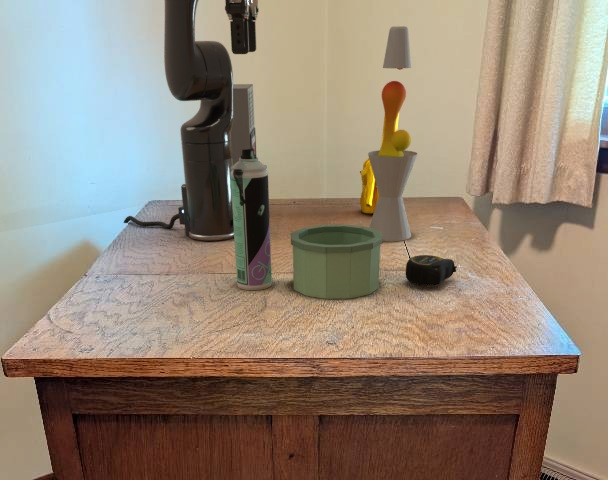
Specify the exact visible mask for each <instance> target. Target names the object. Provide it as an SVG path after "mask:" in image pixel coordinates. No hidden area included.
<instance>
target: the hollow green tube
mask: <svg viewBox="0 0 608 480" xmlns="http://www.w3.org/2000/svg"><path fill="white" fill-rule="evenodd" d="M383 242H384V241H383V237H382V235H381V232H380V231H377V230H374V229H371V228H369V226H362V225H355V224H354V225H353V224H320V225H313V226H307V227H302V228H298V229H296V230H294V231H292V232H290V245H291V246H292V268H293V269H292V270H293V271H292V273H293V290H294V291H296V292H297V293H300V294H302V295H303V296H306V297H311V298H318V299H322V300H323V299H324V300H341V299H343V300H344V299H345V300H346V299H355V298H358V297H363V296H368V295H371V294H372V293H374V292H375V291H377V290H378V289H379V287H380V267H381V265H380V262H381V245H382V244H383Z"/></svg>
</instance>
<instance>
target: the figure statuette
mask: <svg viewBox="0 0 608 480" xmlns="http://www.w3.org/2000/svg"><path fill="white" fill-rule="evenodd" d="M399 116H400V113H399V114H398V117H397V120H396V126H395V132H396V131H398V128H399V127H398V125H399V118H400V117H399ZM385 121H386V119H385V114H384V115H383V126H382V135H381V145H380V147H381V146H382V143H383V139H384V133H385ZM359 173H360V176H361V178H360V179H361V182H362V183H361V189H362V191H361V194H360V198H359V199H360V200H359V204H360V208H361V212H362V213H364V214H374V211H375V208H376V205H377V202H378V199H379V192H378V189H377V185H376V181H375V178H374V174H373V171H372V167H371V163H370V160H369V157H368V158H367V159H366V160H365V161H364V162H363V166H362V170H361V171H359Z"/></svg>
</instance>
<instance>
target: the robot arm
mask: <svg viewBox="0 0 608 480" xmlns="http://www.w3.org/2000/svg"><path fill="white" fill-rule="evenodd" d="M224 2H225V5H224V11H225V13H226V15H227V17H228V21H229V24H230V25H229V26H230V27H229V29H230V45H231V53H232V54H234V55H247V54H249V53H254V52H256V51H257V27H256V24H257V23H256V21H257V18H258V15H259V11H260V10H259V6H258V5H259V0H225V1H224ZM198 3H199V0H164V33H163V37H164V38H163V63H164V75H165V79H166V80H165V81H166V84H167V87H168V90H169V91H170V94H171V95H172V96H173V98H174V99H175V100H177V101H179V102H195V101H199V109H198V110H197V112H196V113H195V114H194V116H192V117H191V118H189V119H187V120H186V121H185V122H184V123H182V124H181V126H180V131H179V132H180V141H181V153H182V154H181V155H182V163H183V164H182V165H183V176H184V183H183V184H181V185H180V190H181V200H182V201H181V202H182V206H179V207H177V211H178V213H176V214H174V215H172V217H171V218H170V220H169V223H167V222H164V221H158V220H157V221H156V220H155V221H141V220H139V219H137V218H136V217H134V216H132V215H128V216H127V217H125V218H124V220H123V224H128V223H129V222H130V221H131V222H132V223H134V224H135V225H138V226H140V227H161V228H162V227H163V228H165V229H167V230H170V229H173V227H174V225H175V222H176V221H177V220H178V221H179V225H182V226H184V232H185V233H184V234H185V236H186V237H189V238H190V239H193V240H197V241H208V242H209V241H222V240H223V241H225V240H229V239H232V238H234V224H233V207H232V190H231V171H232V170H231V166H233V161H232V145H231V129H232V125H233V84H234V71H233V63H232V59H231V57H230V53H229V51H228V49H227V48H226V46H225V45H224V44H223V43H221V42H220V41H216V40H196V14H197V8H198Z"/></svg>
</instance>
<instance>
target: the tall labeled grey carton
mask: <svg viewBox="0 0 608 480" xmlns="http://www.w3.org/2000/svg"><path fill="white" fill-rule="evenodd" d="M254 101H255V100H254V85H253V83H233V125H232V129H231V145H232V161H233V165H235V164H236V163H237V162H238V161H239V158H241V155H242V150H245V149H250V148H253V149H254V155H256V156H257V136H256V135H257V134H256V127H255V124H256V123H255V105H254V104H255V102H254Z"/></svg>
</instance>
